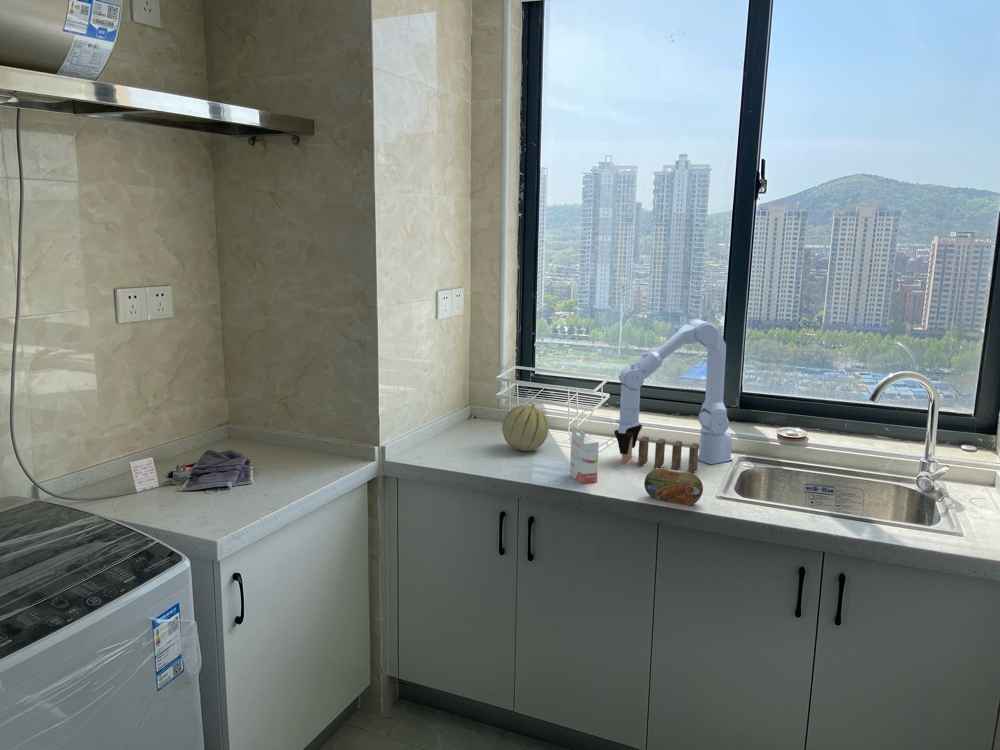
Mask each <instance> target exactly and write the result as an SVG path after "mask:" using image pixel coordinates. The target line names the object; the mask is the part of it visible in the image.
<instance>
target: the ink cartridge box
mask: <svg viewBox="0 0 1000 750" xmlns="http://www.w3.org/2000/svg"><path fill="white" fill-rule="evenodd" d="M577 433H578V434H577ZM599 443H600V442H599V441H597V440H595V439H594V438H592V437H590V436H588V435H587V434H586V433H585V432H584V431H583V430H581V429H579V428H578V427H576V426H574V425H573V426H572V429H571V439H570V459H569V461H570V464H569V475H570V476H571V477H572V476H573V478H574V479H575V480H577V481H578V482H579V481H580V483H581V484H582V483H583V484H591V483H592V482H593V483H597V482H598V464H599Z"/></svg>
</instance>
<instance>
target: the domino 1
mask: <svg viewBox="0 0 1000 750" xmlns="http://www.w3.org/2000/svg"><path fill="white" fill-rule="evenodd" d="M632 442H633V436H632V438H631V441H630V445H629V450H628V454H627V455H626V454H621V464H624V463H625V465H628V464H629V463H630V462H631V461H632V460H631V459H632V457H633V448H632ZM630 460H631V461H630ZM629 461H630V462H629ZM628 462H629V463H628ZM627 463H628V464H627Z"/></svg>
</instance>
